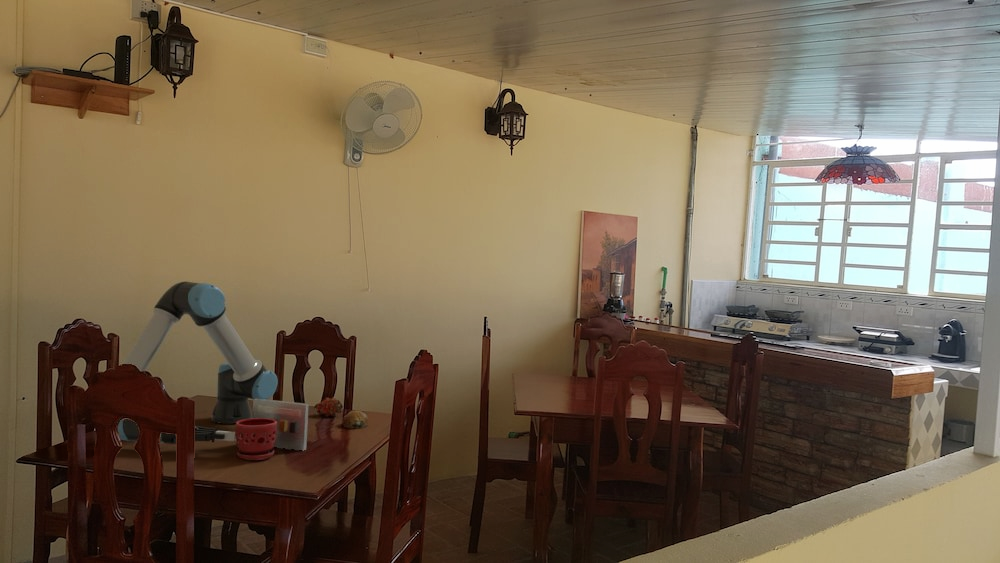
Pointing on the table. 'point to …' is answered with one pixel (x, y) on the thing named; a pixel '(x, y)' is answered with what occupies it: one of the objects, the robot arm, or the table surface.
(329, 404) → the dragon fruit
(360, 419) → the bread roll
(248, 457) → the plant pot
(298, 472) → the table surface
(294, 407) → the breaker panel
